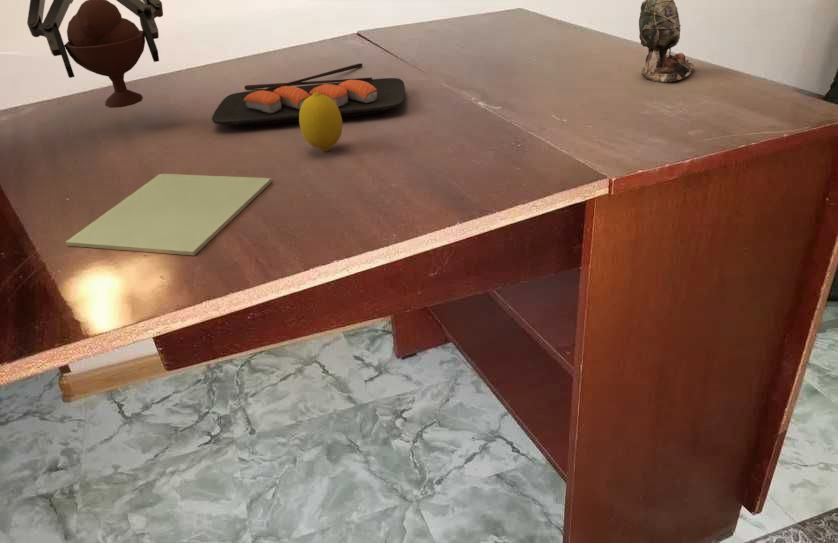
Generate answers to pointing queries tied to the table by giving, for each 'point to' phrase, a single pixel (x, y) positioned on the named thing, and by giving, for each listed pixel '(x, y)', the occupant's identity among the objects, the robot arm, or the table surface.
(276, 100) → the sushi plate
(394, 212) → the table surface
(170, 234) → the placemat
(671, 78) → the plant with pod
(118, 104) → the ice cream bowl
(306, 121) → the lemon
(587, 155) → the table surface
